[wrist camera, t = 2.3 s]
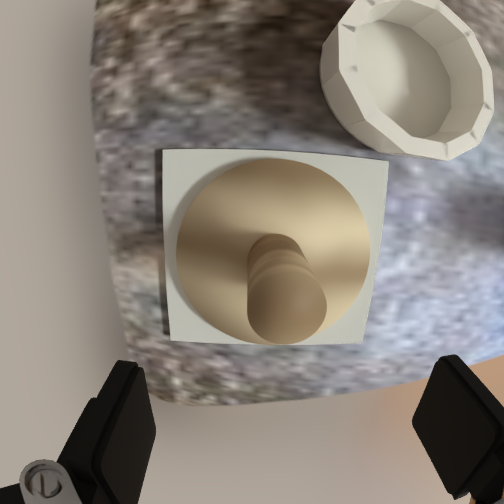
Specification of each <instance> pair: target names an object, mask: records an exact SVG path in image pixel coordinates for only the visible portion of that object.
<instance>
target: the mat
mask: <svg viewBox="0 0 504 504" xmlns="http://www.w3.org/2000/svg"><path fill="white" fill-rule="evenodd" d="M263 159H286V160H294V161H298V162H302V163H305V164H309V165H311V166H313V167H316V168H318V169H320V170H322V171H324V172H325V173H327V174H329V175H330V176H332V177H333V178H334V179H336V180H337V181H338V182H339V183H341V184H342V185H343V186H344V187H345V188H346V190H347V191H348V192H349V193H350V194H351V195H352V197H353V198H354V200H355V201H356V203H357V204H358V206H359V208H360V210H361V212H362V214H363V216H364V219H365V222H366V225H367V228H368V233H369V238H370V261H369V267H368V271H367V275H366V278H365V281H364V284H363V286H362V288H361V290H360V292H359V294H358V296H357V298H356V299H355V301H354V302H353V304H352V305H351V306H350V308H349V309H348V310H347V311H346V312H345V313H344V315H343V316H341V317H340V318H339V319H338V320H337V321H336V322H335V323H333V324H332V325H331V326H329V327H328V328H326V329H325V330H323V331H321V332H320V333H318V334H316V335H314V336H311V337H309V338H307V339H305V340H303V341H301V342H298V343H294V344H286V345H316V344H349V343H362V340H363V336H364V332H365V327H366V322H367V318H368V313H369V308H370V303H371V298H372V292H373V287H374V281H375V275H376V269H377V263H378V257H379V250H380V243H381V236H382V228H383V220H384V211H385V201H386V191H387V179H388V166H389V161H381V160H374V159H366V158H357V157H348V156H338V155H328V154H316V153H303V152H288V151H269V150H242V149H169V150H163V232H164V256H165V274H166V289H167V302H168V314H169V325H170V335H171V340H174V341H188V342H204V343H225V344H255V343H249V342H245V341H242V340H239V339H236V338H233V337H231V336H229V335H227V334H225V333H223V332H221V331H220V330H218V329H216V328H215V327H213V326H212V325H211V324H210V323H208V322H207V321H206V320H205V319H204V318H203V317H202V316H201V315H200V314H199V313H198V312H197V311H196V309H195V308H194V307H193V305H192V304H191V303H190V301H189V299H188V297H187V296H186V294H185V292H184V289H183V287H182V284H181V282H180V278H179V274H178V270H177V262H176V244H177V239H178V233H179V230H180V226H181V223H182V220H183V218H184V216H185V214H186V212H187V210H188V208H189V207H190V205H191V204H192V202H193V201H194V199H195V198H196V196H197V195H198V194H199V193H200V192H201V191H202V190H203V189H204V187H206V186H207V185H208V184H209V183H210V182H212V181H213V180H214V179H215V178H217V177H218V176H220V175H221V174H223V173H224V172H226V171H228V170H230V169H232V168H234V167H236V166H239V165H241V164H245V163H248V162H251V161H256V160H263ZM258 345H263V344H258ZM280 345H283V344H280Z"/></svg>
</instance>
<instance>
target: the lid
mask: <svg viewBox="0 0 504 504" xmlns="http://www.w3.org/2000/svg"><path fill="white" fill-rule="evenodd" d="M369 261H370V238H369V233H368V228H367V225H366V222H365V219H364V216H363V214H362V212H361V210H360V208H359V206H358V204H357V203H356V201H355V200H354V198H353V197H352V195H351V194H350V193H349V192H348V191H347V190H346V188H345V187H344V186H343V185H342V184H341V183H339V182H338V181H337V180H336V179H334V178H333V177H332V176H330V175H329V174H327V173H325V172H324V171H322V170H320V169H318V168H316V167H313V166H311V165H309V164H305V163H302V162H298V161H294V160H286V159H263V160H256V161H251V162H248V163H245V164H241V165H239V166H236V167H234V168H232V169H230V170H228V171H226V172H224V173H223V174H221V175H220V176H218V177H217V178H215V179H214V180H213V181H212V182H210V183H209V184H208V185H207V186H206V187H204V189H203V190H202V191H201V192H200V193H199V194H198V195H197V196H196V198H195V199H194V201H193V202H192V204H191V205H190V207H189V208H188V210H187V212H186V214H185V216H184V218H183V220H182V223H181V226H180V230H179V233H178V239H177V244H176V262H177V270H178V274H179V278H180V282H181V284H182V287H183V289H184V292H185V294H186V296H187V297H188V299H189V301H190V303H191V304H192V305H193V307H194V308H195V309H196V311H197V312H198V313H199V314H200V315H201V316H202V317H203V318H204V319H205V320H206V321H207V322H208V323H210V324H211V325H212V326H213V327H215V328H216V329H218V330H220V331H221V332H223V333H225V334H227V335H229V336H231V337H233V338H236V339H239V340H242V341H245V342H249V343H255V344H263V345H280V344H283V345H286V344H294V343H298V342H301V341H303V340H305V339H307V338H309V337H311V336H314V335H316V334H318V333H320V332H321V331H323V330H325V329H326V328H328V327H329V326H331V325H332V324H333V323H335V322H336V321H337V320H338V319H339V318H340V317H341V316H343V315H344V313H345V312H346V311H347V310H348V309H349V308H350V306H351V305H352V304H353V302H354V301H355V299H356V298H357V296H358V294H359V292H360V290H361V288H362V286H363V284H364V281H365V278H366V275H367V271H368V267H369Z"/></svg>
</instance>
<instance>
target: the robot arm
mask: <svg viewBox="0 0 504 504" xmlns="http://www.w3.org/2000/svg"><path fill="white" fill-rule="evenodd" d="M412 425H413V428H414V429H415V431H416V433H417V435H418V437H419V439H420V440H421V442H422V444H423V446H424V448H425V450H426V451H427V454H428V455H429V457H430V459H431V461H432V463H433V465H434V467H435V469H436V471H437V473H438V474H439V477H440V479H441V480H442V482H443V484H444V486H445V488H446V490H447V492H448V493H449V494H452V496H453V498H454V500H456V499H458V498H461V497H463V496H465V495H467V494H468V493H469V492H470V494H471V499H470V503H469V504H504V407H503V406H502V405H501V404H500V402H499V401H498V400H497V399H496V398H495V397H494V395H493V394H492V393H491V392H490V391H489V390H488V389H487V387H486V386H485V385H484V384H483V383H482V382H481V381H480V379H479V378H478V377H477V376H476V375H475V374H474V373H473V372H472V371H471V370H470V368H469V367H468V366H467V365H466V364H465V363H464V362H463V361H462V360H461V359H460V357H459V356H457V355H455V354H454V355H448V356H442V357H440V358H439V360H438V361H437V362H436V363H435V365H434V368H433V370H432V373H431V375H430V378H429V381H428V383H427V386H426V388H425V390H424V393H423V395H422V398H421V400H420V403H419V405H418V407H417V409H416V411H415V413H414V416H413V419H412ZM155 436H156V426H155V422H154V417H153V413H152V409H151V404H150V399H149V395H148V390H147V385H146V379H145V374H144V370H143V368H142V367H138V364H137V363H136V362H131V361H123V360H118V361H117V362H116V363H115V365H114V367H113V369H112V371H111V372H110V374H109V376H108V378H107V380H106V382H105V383H104V385H103V387H102V389H101V390H100V392H99V394H98V396H97V398H91V399H90V400H89V402H88V403H87V405H86V407H85V408H84V410H83V412H82V414H81V416H80V418H79V419H78V421H77V423H76V425H75V427H74V429H73V431H72V433H71V435H70V436H69V438H68V440H67V442H66V444H65V446H64V448H63V450H62V452H61V454H60V456H59V458H58V460H57V462H54V461H52V460H45V459H43V460H36V461H34V462H32V463H30V464H28V465H27V466H26V467H25V468H24V469H23V471H22V472H21V475H20V479H19V481H20V483H18V484H14V485H11V486H7V487H4V488H0V504H138V501H139V497H140V492H141V489H142V485H143V481H144V477H145V473H146V469H147V466H148V462H149V458H150V454H151V451H152V447H153V443H154V440H155Z"/></svg>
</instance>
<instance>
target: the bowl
mask: <svg viewBox="0 0 504 504" xmlns="http://www.w3.org/2000/svg"><path fill="white" fill-rule="evenodd" d="M319 74H320V82H321V87H322V91H323V94H324V97H325V99H326V102H327V104H328V106H329V108H330V110H331V111H332V113H333V115H334V116H335V118H336V119H337V120H338V122H339V123H340V124H341V125H342V127H343V128H344V129H345V130H346V131H347V132H348V133H349V134H350V135H352V136H353V137H354V138H355V139H356V140H358V141H359V142H361V143H362V144H364V145H365V146H367V147H369V148H371V149H373V150H376V151H377V152H379V153H385V154H389V155H397V156H405V157H411V158H419V159H431V160H442V161H449V160H451V159H453V158H455V157H456V156H458V155H460V154H462V153H464V152H466V151H468V150H470V149H472V148H474V147H475V146H477V145H478V144H479V143H480V141H481V139H482V137H483V135H484V133H485V131H486V128H487V126H488V124H489V122H490V120H491V117H492V115H493V113H494V96H493V81H492V71H491V68H490V66H489V64H488V61H487V59H486V57H485V55H484V53H483V51H482V49H481V47H480V45H479V43H478V41H477V39H476V37H475V35H474V33H473V31H472V30H471V29H470V28H469V27H468V26H467V25H466V24H465V23H464V22H463V21H462V20H461V19H460V18H459V17H458V16H457V15H456V14H454V13H453V12H452V11H451V10H450V9H449V8H448V7H447V6H446V5H444V4H443V3H442V2H441V1H440V0H355V2H354V3H353V4H352V5H351V7H350V8H349V9H348V11H347V12H346V13H345V15H344V16H343V17H342V19H341V20H340V21H339V23H338V24H337V25H336V27H335V28H334V29H333V31H332V32H331V34H330V35H329V36H328V38H327V39H326V41H325V42H324V43H323V45H322V52H321V57H320V64H319Z"/></svg>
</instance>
